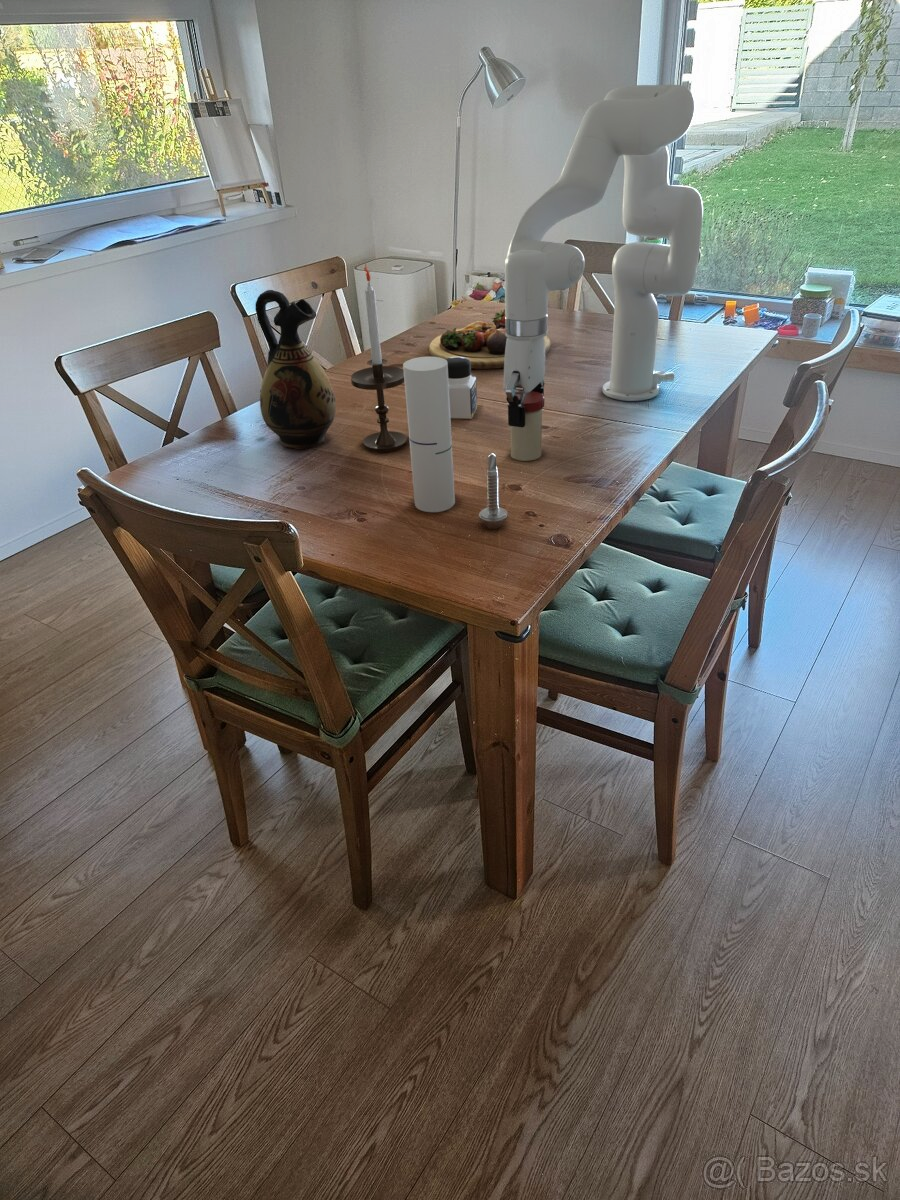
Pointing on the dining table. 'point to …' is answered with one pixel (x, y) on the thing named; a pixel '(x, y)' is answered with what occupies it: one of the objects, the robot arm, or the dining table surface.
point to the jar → (527, 438)
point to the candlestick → (378, 382)
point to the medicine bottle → (461, 388)
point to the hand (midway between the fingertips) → (526, 416)
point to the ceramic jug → (293, 378)
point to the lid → (533, 401)
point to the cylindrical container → (430, 432)
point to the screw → (493, 498)
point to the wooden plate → (476, 343)
